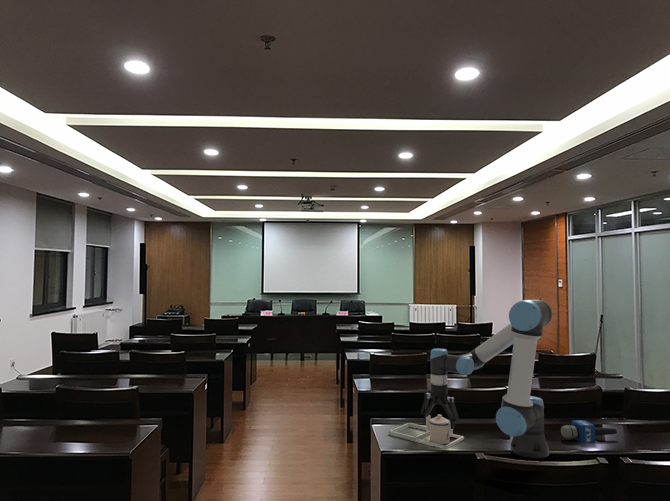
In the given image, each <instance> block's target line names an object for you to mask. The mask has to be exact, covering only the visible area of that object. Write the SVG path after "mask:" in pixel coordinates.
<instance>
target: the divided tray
mask: <svg viewBox="0 0 670 501" xmlns="http://www.w3.org/2000/svg"><path fill="white" fill-rule="evenodd" d="M412 427H413V429H416V428H418V429H417V430H420V429H422V431H425V430H426V425H420V424H418V423H413V422H408V423H407V422H406V423H405V424H402V425H400V426H398V427H395V428H392V429H390V430H389V431H388V436H392V437H396V438H400V439H404V440H408V441H412V442H415V443H419V444H424V445H426V446H430V447H434V446H435V447H434V448H438V447H440V448H439V449H442V448H445V449H444V450H447V449H449V448H451V447H452V446H454V445H456V444H458V443H460V442H462V441H463V440H465V436H463V435H459V434H455V433H453V436H451V437H450V438H453V439H454V438H455V440H453V441H451V442H449V443H448V444H436V443H432V442H431V441H429V440H424V438H427V437H428V436H429V437H430V431H428V432H427V431H425V432H423V433H421V434H418V435H416V436H413V435H409V434H405V433H402V432H401V431H403V430H405V429H408V428H412ZM446 448H447V449H446Z"/></svg>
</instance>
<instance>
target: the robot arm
mask: <svg viewBox="0 0 670 501" xmlns="http://www.w3.org/2000/svg"><path fill="white" fill-rule="evenodd" d="M552 318H553V309H552V307H551V306H550V305H549V304H548V303H547V302H546V301H544V300H542V299H523V300H519V301H517V302H516V303H514V304H513V305H512V306H511V308H510V309H509V313H508V320H509V324H508V325H506V326H505V327H504V328H502V329H501V330H499V331H497V332H496V333H495V334H493V335H492V336H490V337H489V338H488V339H486V340H485V341H484V342H482V343H481V344H480V345H478V346H477V347H476V348H474V349H472V350H471V351H470V352H467V353H465V354H460V355H454V354H449V353H448V350H447V349H446V348H432V349H431V351H430V358H429V359H430V360H429V361H430V383H431V384H430V392H426V393H424V399H423V403H422V406H421V410H420V414H421V415H423V417H424V423H425V426H426V431H425V432H428V431H430V422H429V421H430V419H432V418H431V415H430V414H431V413H432V410H433V408H434V407H435V405H439V406H441V407H442V408H443V410H444V411H445V413H446V415H447V418H448V420H449V421H448V424H449V437H450V438H452V437H451V436H453V434H454V429H455V426H456V424H455V423H456V421H459V420H460V419H459V418H460V417H459V414H458V411H457V407H456V404H455V397H453V396H452V397H450V396H449V395H448V372H449V373H453V374H459V375H470V374H472V372H473V371H475V370H478V369H481V368H483V367H484V365H485V364H486V363H487V362H489V361H490V360H491V359H493V358H494V357H496V356H497V355H499V354H500V353H501V352H503V351H505V350H506V349H507V348H509V347H510V346H512V352H511V354H512V355H511V362H510V368H509V369H510V370H509V377H508V384H507V391H506V392H507V393H506V394H505V395H503V396H502V400H501V407H500V408H499V409H498V410H497V411H496V414H495V422H496V425H497V426H498V427H499V429H500V431H502V433H504V434H505V435H507V436H509V437H512V438H511V441H510V445H509V446H510V447H509V448H510V449H511V450H510V452H512V451H513V452H514V453H513V452H512V453H513V454H515V455H518V456H520V457H524V458H530V459H543V458H547V457H548V456H549V455H550V450H549V445H548V443H547V439H546V437H545V413H544V410H545V409H544V408H545V405H544V401H543V399H542V398H541V397H537V396H532V395H531V393H532V392H531V390H532V384H533V376H534V370H535V369H534V368H535V363H536V362H535V361H536V353H537V347H538V345H537V344H538V340H539V339H541V338H542V337H543V331H544V328H545V327H547V325H549V324H550V323H551V321H552ZM430 399H431V401H430ZM429 401H430V402H429Z"/></svg>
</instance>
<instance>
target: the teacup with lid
mask: <svg viewBox="0 0 670 501" xmlns="http://www.w3.org/2000/svg"><path fill="white" fill-rule="evenodd" d="M448 421H450V419H448V418H445V417H443V415H442V414H437V416H435V417H433V418H431V419H430V421H429V422H430V435H429V442H432V443H436V444H440V445H447V444H449V443H451V442H450V438H451V437H449V424H448Z"/></svg>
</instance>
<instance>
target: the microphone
mask: <svg viewBox="0 0 670 501" xmlns="http://www.w3.org/2000/svg"><path fill="white" fill-rule="evenodd" d="M617 433H618V431H617V429H616V428H612V427H596V426H595V424H593V423H591V422H589V421H587V420H585V419H584V420H583V419H581V420H577V419H576V420H575V419H574V420H571V424H566V425H563V426H561V428H560V434H561V436H562V438H565V439H569V440H571V439H574V440H576V441H578V442H579V443H580V444H593V443H594V444H595V443H596V437H597V436H609V435H616V434H617Z"/></svg>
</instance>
